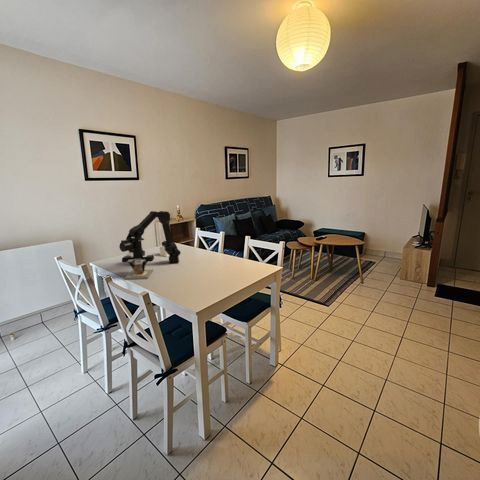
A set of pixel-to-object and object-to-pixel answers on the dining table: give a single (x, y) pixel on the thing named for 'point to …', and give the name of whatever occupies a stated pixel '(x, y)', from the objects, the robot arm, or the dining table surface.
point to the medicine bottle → (163, 249)
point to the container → (132, 256)
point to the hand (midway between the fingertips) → (139, 271)
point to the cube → (138, 269)
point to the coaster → (139, 275)
